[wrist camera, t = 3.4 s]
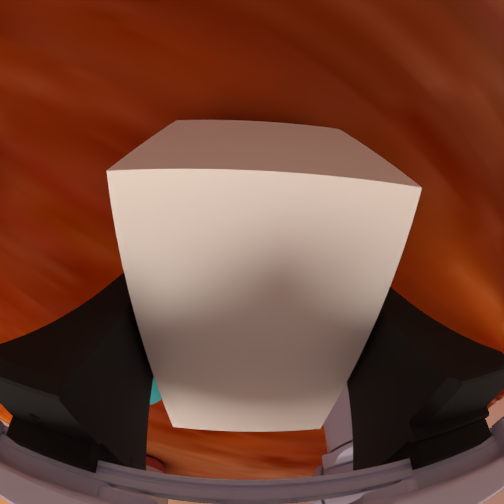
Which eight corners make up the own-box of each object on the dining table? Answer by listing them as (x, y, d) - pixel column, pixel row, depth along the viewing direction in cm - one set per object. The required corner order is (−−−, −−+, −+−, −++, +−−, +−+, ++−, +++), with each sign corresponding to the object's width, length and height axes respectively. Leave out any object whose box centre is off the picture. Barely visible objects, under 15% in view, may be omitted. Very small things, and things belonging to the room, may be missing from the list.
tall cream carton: (339, 128, 10) (422, 187, 5) (302, 325, 16) (320, 428, 11) (176, 120, 10) (106, 170, 5) (189, 323, 15) (173, 426, 10)
